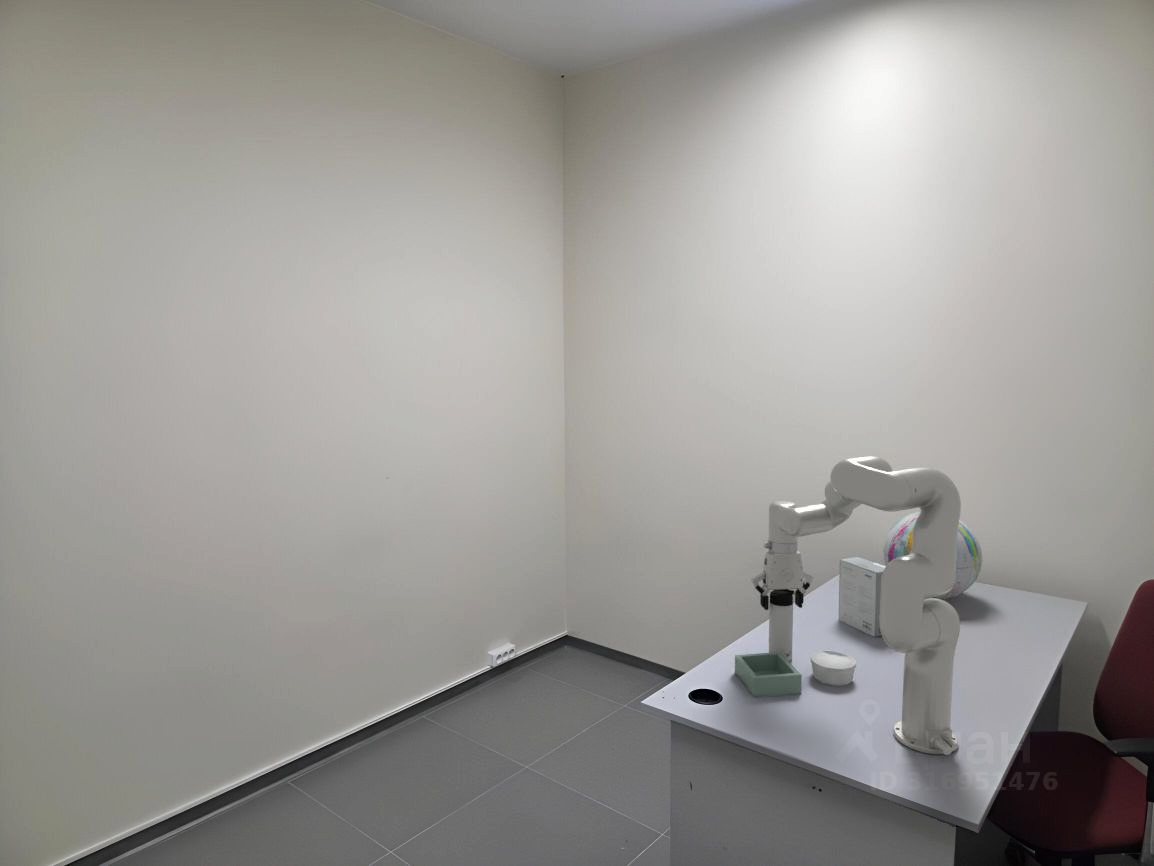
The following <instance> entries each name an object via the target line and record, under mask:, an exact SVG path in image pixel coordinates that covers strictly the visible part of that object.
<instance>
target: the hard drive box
mask: <svg viewBox="0 0 1154 866" xmlns="http://www.w3.org/2000/svg"><path fill="white" fill-rule="evenodd" d="M885 567H886V565H883V564H880V563H877V562H874V561H870V560H868V559H865V558H862V557H858V556H856V557H855V556H854V557H848V558H847V557H846V558H843V559H842V558H841V559H839V579H838V580H839V582H838V583H839V587H838V588H839V589H838V596H839V597H838V621H841V622H843V623H845V625H846V624H847V625H848V626H851V627H853V628H854V629H857V630H859V631H861V632H863V633H864V634H867V635H869V636H871V637H874V638H877V637H880V636H882V634H881V630H880V595H881V578H882V574H883V571H884V569H885Z"/></svg>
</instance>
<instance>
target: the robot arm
mask: <svg viewBox="0 0 1154 866" xmlns="http://www.w3.org/2000/svg"><path fill="white" fill-rule="evenodd" d="M824 497H825V500H823V501H821V502H820V503H816V504H809V505H802V506H798V505H797V504H796V503H795V502H793V501H789V500H775V501H773V502H771V503H770V504H769V508H768V539H767V542H766V543H764V544H763V547H764V549H767V550H766V551H765V556H764V560H763V567H762V572H761V573H759V574H758V575H756V576H754V577H753V578H751V579H750V582H751V583H752V586H754V589H755V590H757V592H759V594H760V598H759V599H760V601H759V603H760V606H761V608H763V609H764V610H765V611H768V610H769V604H770V603H769V601H770V596H769V595H768V594H770V592H771V591H773V590H786V589H788V590H794V593H795V595H794V604H795V605H796V607H798V608H799V609H800V608H801V609H802V608H803V604H804V595H805V594H806V591H807V590H808V589H809V588H810V587H811V583H812V582H813V579H814V576H813V575H811V574H809V573H807V572H805V571H804V568H803V567H804V566H803V560H802V554H801V552H800V551H799V550H798V538H799V537H805V536H810V535H815V534H821V533H826V532H829V531H832V530H833V529H835V528H836V527H838V526H840V525H842V524H843V523H845V522H847V520H849V519H850V517H851V516H852V514H853V511H854V509H856V508H858V507H859V506H861V505H865V506H868V507H871V508H873V509H876V510H879V511H883V512H891V513H892V512H900V511H907V510H912V509H916V508H919V509H920V511H921V512H920V511H919V512H920V514H919V516H918V518H917V520H916V522H915V525H914V528H913V541H912V549H911V553H910V554H909V555H906V556H901V557H898V558H895V559H893V560H892V561H890V562H889V563H888V564H887V566H886V565H885V566H886V567H885V569H884V571H883V574H882V578H881V595H880V630H881V634H882V635H881V636H882V638H883V641H884V642H885V644H886V645H887V646H888V647H889V648H890V649H891V650H893V651H895V652H898V653H901V654H904V657H903V658H904V661H903V673H902V674H903V677H902V678H903V679H902V704H901V706H902V707H901V720H900V721H897V722H896V723H895V724H894V725H893V735H894V737H895V738H896V740H898V741H899V742H900V743H901V744H903V746H906V747H907V748H909V749H912V750H915V751H917V752H921V753H925V754H930V755H946V756H949V755H951V753H952V752H954V751H956V750H957V749H958V748H959V745H958V744H959V743H958V741H959V740H958V738H957V736H956V735H955V733H953V729H951V717H952V699H953V698H952V695H953V676H954V664H955V663H954V662H955V654H956V653H955V652H956V649H957V644H958V641H959V637H960V632H961V621H960V620H961V619H960V617H959V614H958V612H957V611H956V609H955V608H954V607H953V605H951V604H950V603H949V602H948V601H946V600H945V599H942V600H941V599H937V598H933V597H936V596H940V595H943V594H945V593H947V592H949V591H950V590H951V589H952V588H953V586H954V583H955V576H956V559H957V536H958V526H959V520H960V518H961V512H962V511H961V510H962V508H961V507H962V503H961V496H960V491H959V490H958V488H957V486H956V484H955V483H954V481H952V479H951V478H950V477H949V476H948V475H947V474H945V473H944V472H942V471H940V470H939V469H934V468H933V467H931V468H930V467H914V468H913V467H912V468H906V469H900V470H893V468H892V466H891V465H890V464H889V462H888V461H886V460H885V459H884V458H882V457H878V456H861V457H860V456H859V457H853V458H846V459H842V460H841V461H839V462H838V463H836V464H835V465H834V466H833V468H832V469H831V473H830V481H828V482H827V483H826V485H825V487H824ZM804 579H805V580H804ZM761 581H762V583H763V584H762V585H760V584H759V583H760V582H761Z"/></svg>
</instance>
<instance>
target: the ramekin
mask: <svg viewBox="0 0 1154 866" xmlns="http://www.w3.org/2000/svg"><path fill="white" fill-rule="evenodd" d="M810 663H811V669H812V674H813V676H814V678H815V680H818V682H820V683H822V684H825V685H828V686H834V687H840V686H841V687H842V686H847V685H849V684H850V683H851V682H852V680H853V678H854V674H855V669H856V667H857V661H856V659H855V658H853V656H851V655H848V654H846V653H844V652H843V653H842V652H841V651H840V652H839V651H836V650H818V651H815V652H813V653H812V654H811V656H810Z"/></svg>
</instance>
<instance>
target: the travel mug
mask: <svg viewBox="0 0 1154 866" xmlns="http://www.w3.org/2000/svg"><path fill="white" fill-rule="evenodd" d="M793 596H795V589H786V590H770V591H769V609H768V610H769V611H768V612H769V613H768V615H769V616H768V653H771V652H780V653H781V654H782V655H783V656H784V657H785V658H786V659H787V660H788V661H789V662H790V663H791V664H792V663H793V633H794V632H793V630H794V629H793V628H794V627H793V624H794V623H793V621H794V618H793V617H794V597H793Z"/></svg>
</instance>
